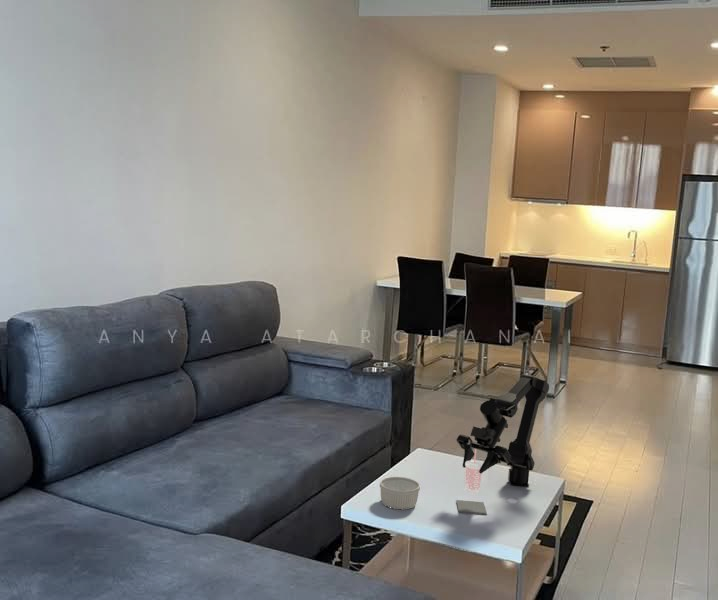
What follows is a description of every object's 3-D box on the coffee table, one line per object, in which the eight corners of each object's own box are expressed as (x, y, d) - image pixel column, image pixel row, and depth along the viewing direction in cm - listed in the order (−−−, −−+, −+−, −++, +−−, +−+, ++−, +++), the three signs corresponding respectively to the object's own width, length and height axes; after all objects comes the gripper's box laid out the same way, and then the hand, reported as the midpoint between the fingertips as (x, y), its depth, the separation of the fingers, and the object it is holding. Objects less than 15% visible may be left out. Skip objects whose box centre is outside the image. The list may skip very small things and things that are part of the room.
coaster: (483, 503, 246) (483, 502, 246) (486, 514, 237) (486, 513, 237) (456, 501, 247) (456, 499, 246) (458, 512, 238) (458, 510, 238)
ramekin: (370, 502, 241) (371, 482, 240) (395, 492, 251) (396, 473, 250) (402, 515, 233) (403, 494, 232) (426, 504, 243) (428, 484, 242)
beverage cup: (465, 493, 238) (468, 451, 236) (461, 485, 244) (464, 445, 242) (483, 493, 239) (487, 452, 237) (479, 486, 245) (482, 446, 243)
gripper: (461, 410, 248) (439, 449, 241) (509, 424, 235) (487, 465, 228) (473, 429, 254) (451, 466, 248) (520, 443, 242) (499, 483, 235)
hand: (471, 470), depth 240 cm, fingers closed on beverage cup, 6 cm apart
